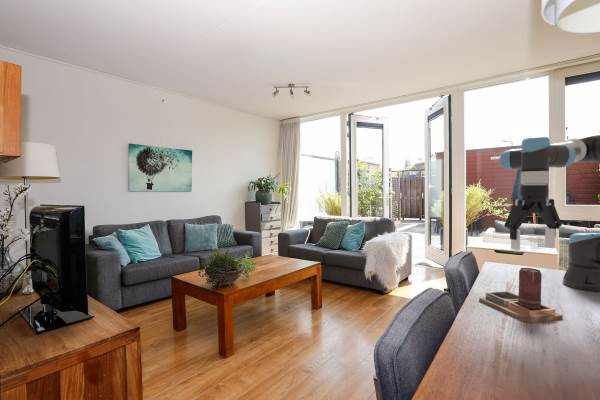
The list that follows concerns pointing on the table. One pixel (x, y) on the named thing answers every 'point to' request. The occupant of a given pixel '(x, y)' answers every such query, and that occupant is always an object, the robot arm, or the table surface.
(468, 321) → the table surface
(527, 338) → the table surface
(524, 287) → the can
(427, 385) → the table surface
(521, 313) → the board
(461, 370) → the table surface
